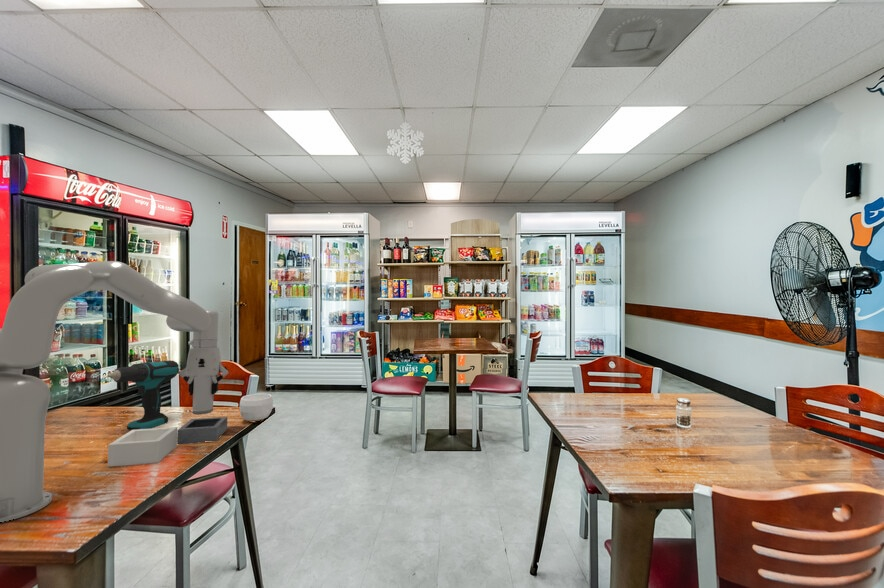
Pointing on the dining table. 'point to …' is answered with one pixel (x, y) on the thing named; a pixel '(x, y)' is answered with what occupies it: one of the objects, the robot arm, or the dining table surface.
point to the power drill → (148, 388)
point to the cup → (256, 406)
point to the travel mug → (202, 392)
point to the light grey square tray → (142, 446)
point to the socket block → (202, 430)
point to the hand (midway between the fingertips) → (203, 393)
